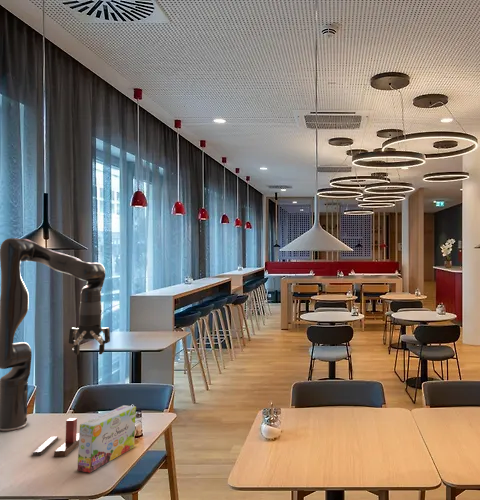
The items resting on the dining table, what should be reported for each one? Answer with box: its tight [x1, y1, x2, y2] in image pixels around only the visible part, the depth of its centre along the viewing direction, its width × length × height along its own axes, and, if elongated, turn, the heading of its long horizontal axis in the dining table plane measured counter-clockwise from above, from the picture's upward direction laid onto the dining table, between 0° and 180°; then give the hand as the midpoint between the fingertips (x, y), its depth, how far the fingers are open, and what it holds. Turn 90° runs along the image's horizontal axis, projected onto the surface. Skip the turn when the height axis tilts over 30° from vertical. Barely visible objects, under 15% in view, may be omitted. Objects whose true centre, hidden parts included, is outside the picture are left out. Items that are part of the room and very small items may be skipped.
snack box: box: [77, 404, 137, 473], centre depth 158 cm, size 21×6×15 cm, turn 168°
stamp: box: [53, 417, 79, 458], centre depth 167 cm, size 4×16×10 cm, turn 7°
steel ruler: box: [32, 436, 59, 457], centre depth 166 cm, size 2×14×1 cm, turn 11°
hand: (89, 354), depth 183 cm, fingers open, 8 cm apart
